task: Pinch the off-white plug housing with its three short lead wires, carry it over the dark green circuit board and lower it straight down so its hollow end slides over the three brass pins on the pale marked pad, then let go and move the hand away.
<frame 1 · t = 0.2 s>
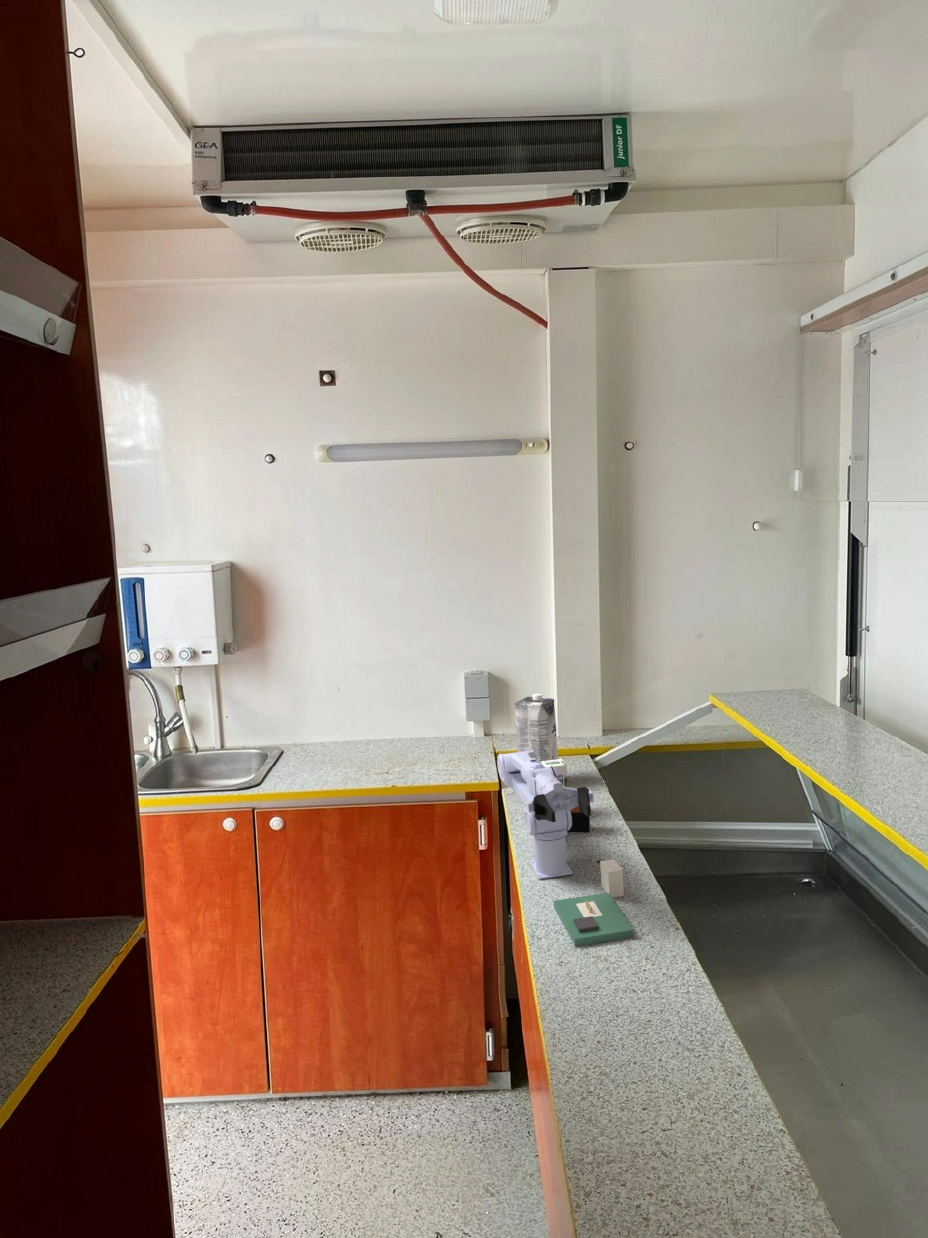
hand: (571, 814, 182), 21 cm above the worktop, tool horizontal, fingers open, 7 cm apart
plug housing: (612, 891, 192), on the worktop
battery: (576, 830, 225), on the worktop
circuit board: (592, 921, 180), on the worktop
juice carton: (539, 785, 259), on the worktop
syrup box: (557, 814, 237), on the worktop
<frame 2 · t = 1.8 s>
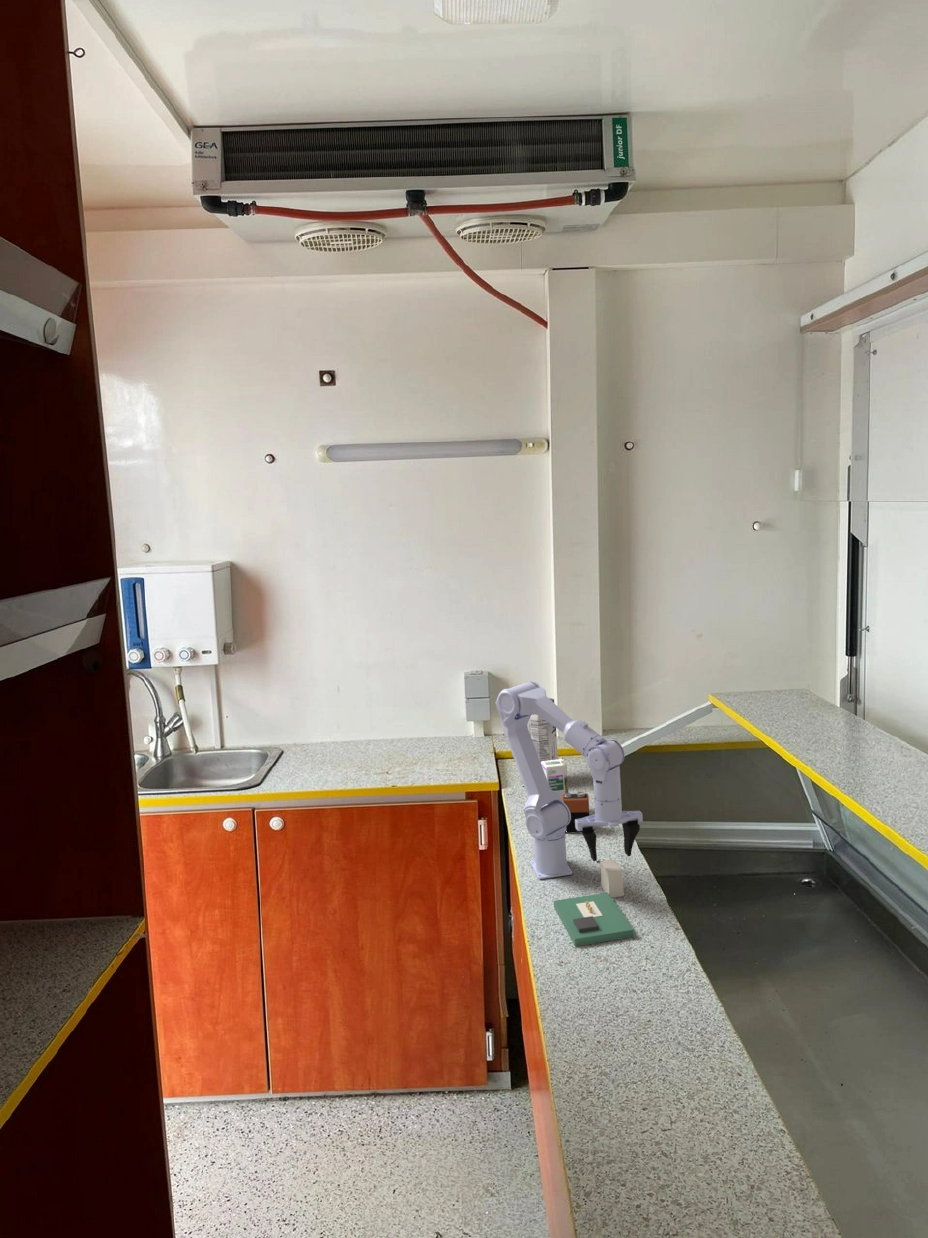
hand: (610, 856, 190), 8 cm above the worktop, tool pointing down, fingers open, 7 cm apart
nothing on the worktop moved.
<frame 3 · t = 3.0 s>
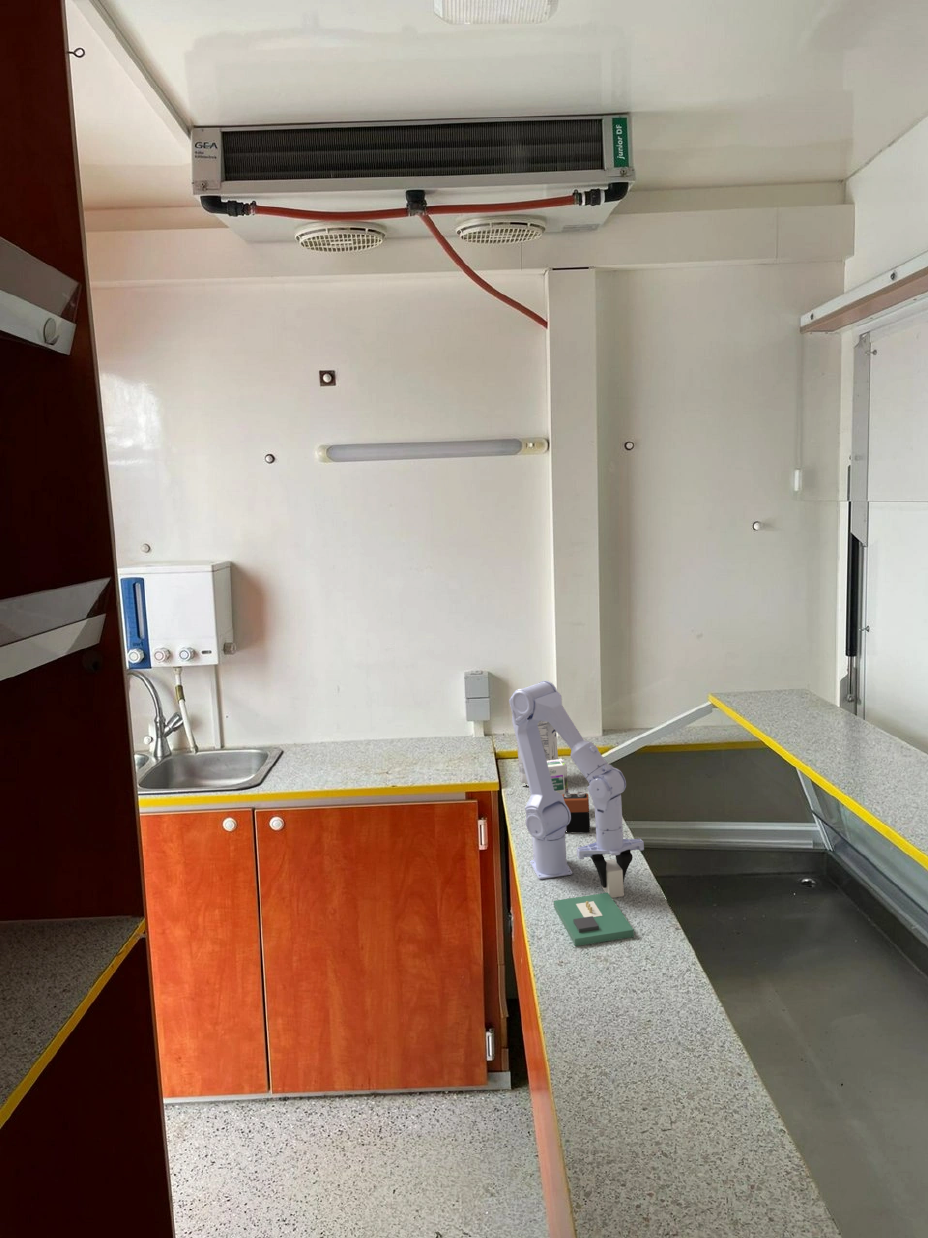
hand: (612, 884, 191), 2 cm above the worktop, tool pointing down, fingers closed on plug housing, 3 cm apart
plug housing: (612, 891, 192), on the worktop, touching gripper
everything else where it was.
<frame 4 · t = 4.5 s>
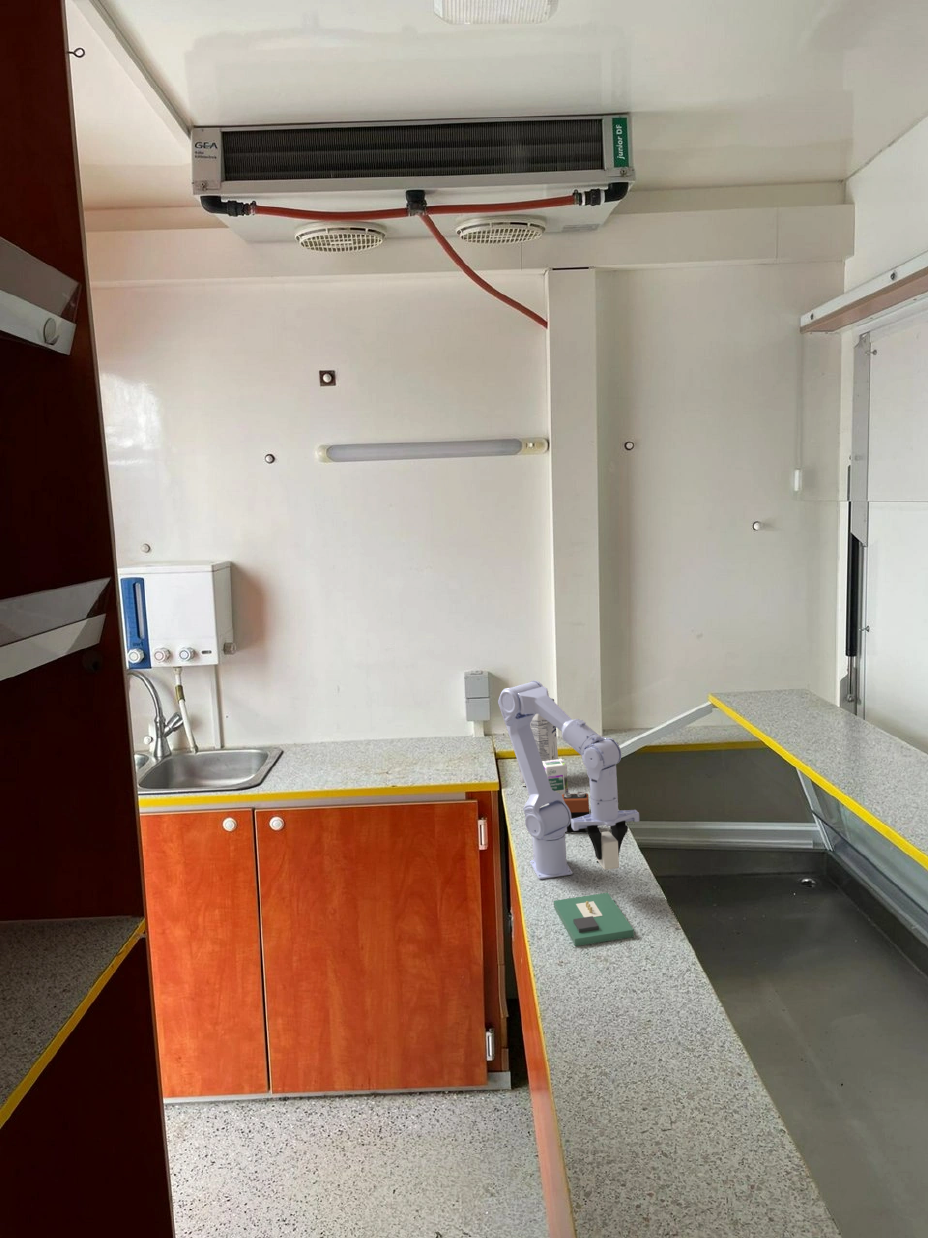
hand: (607, 856, 189), 9 cm above the worktop, tool pointing down, fingers closed on plug housing, 3 cm apart
plug housing: (607, 863, 189), point 7 cm above the worktop, touching gripper
everything else where it was.
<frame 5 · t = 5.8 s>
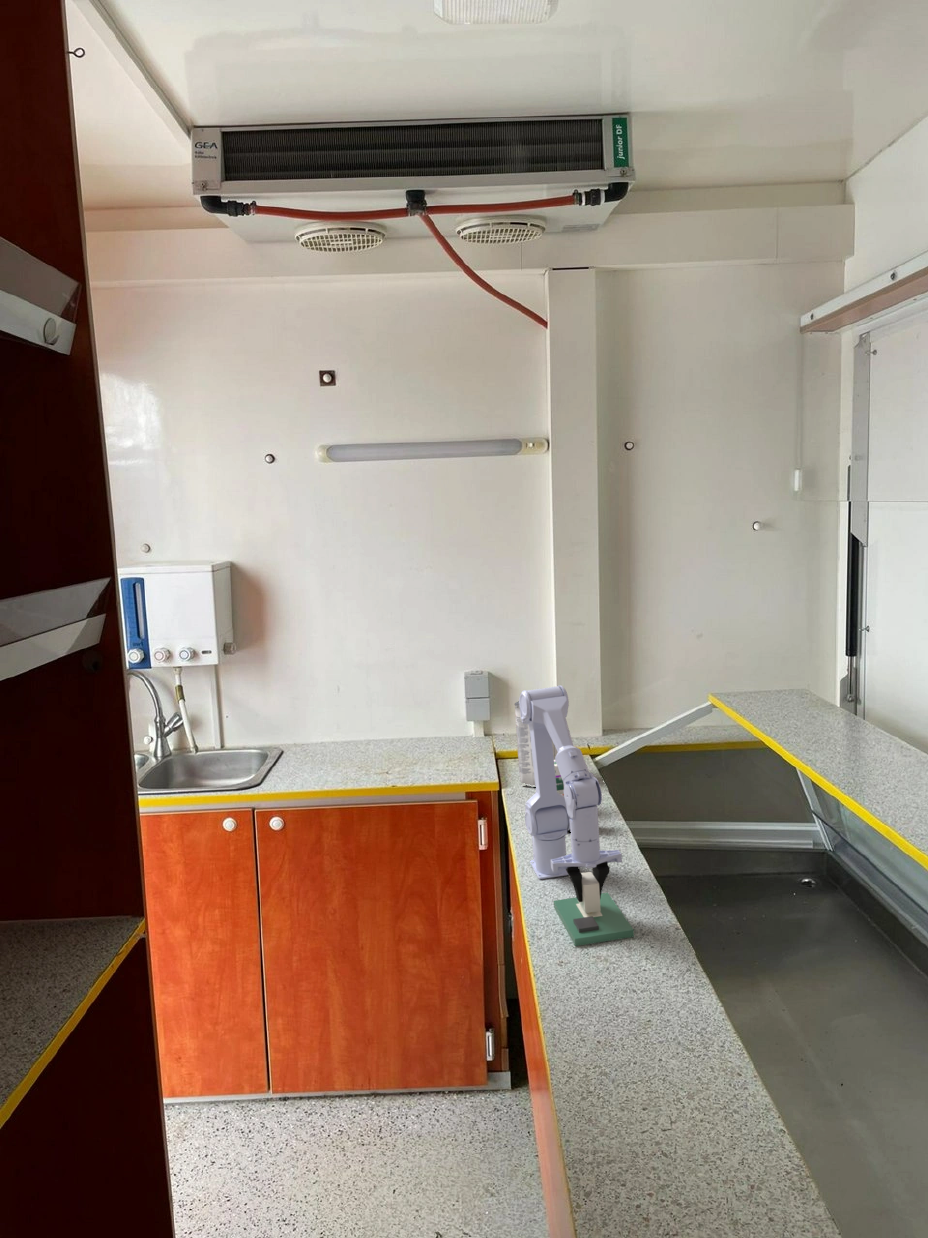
hand: (588, 898, 181), 4 cm above the worktop, tool pointing down, fingers closed on plug housing, 3 cm apart
plug housing: (589, 905, 181), point 2 cm above the worktop, touching gripper
everything else where it was.
when the fingers open (3 cm above the worktop, at t = 6.3 s): plug housing stays where it is, resting on circuit board.
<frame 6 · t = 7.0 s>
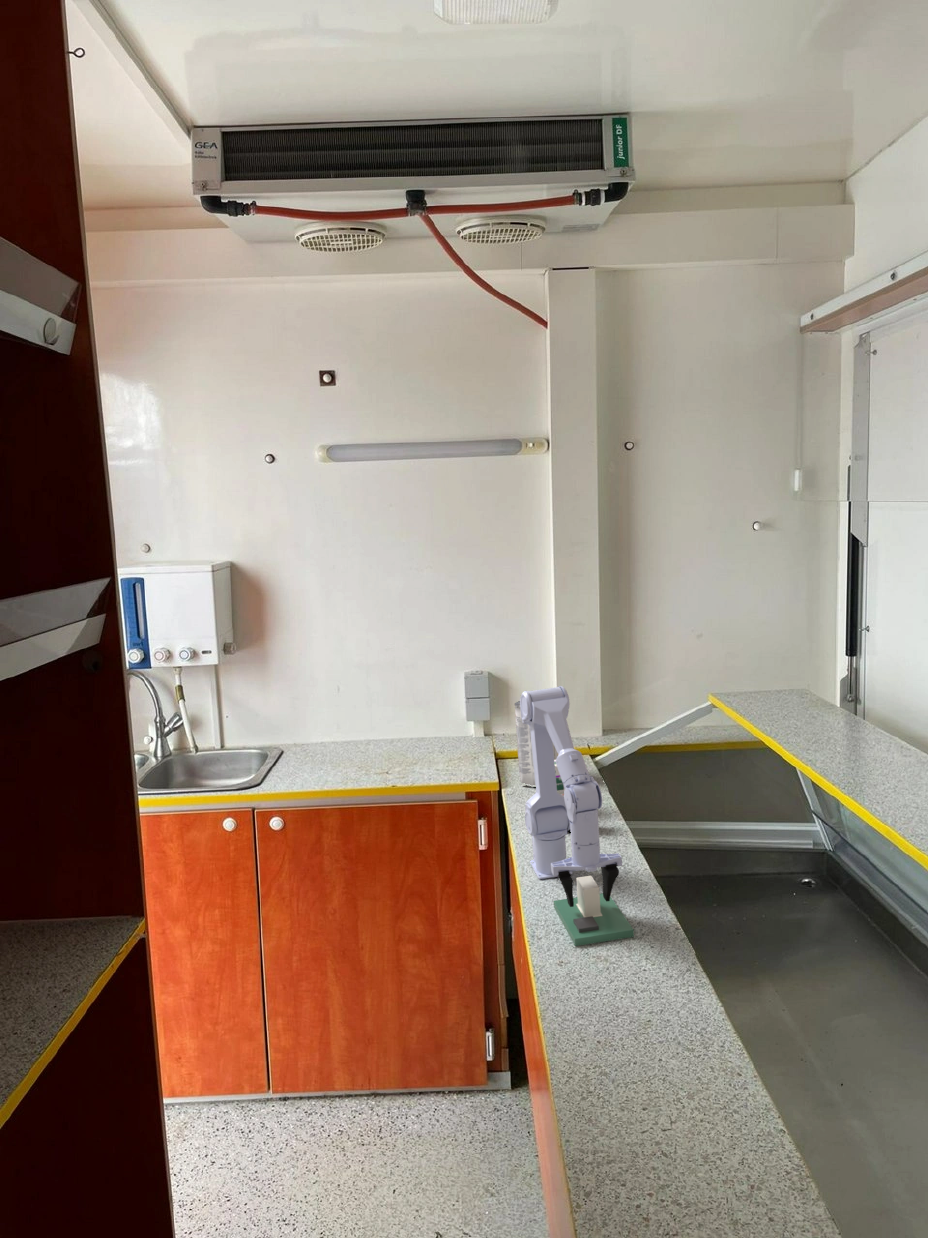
hand: (588, 902, 181), 3 cm above the worktop, tool pointing down, fingers open, 7 cm apart
plug housing: (589, 909, 181), point 2 cm above the worktop, touching circuit board
everything else where it was.
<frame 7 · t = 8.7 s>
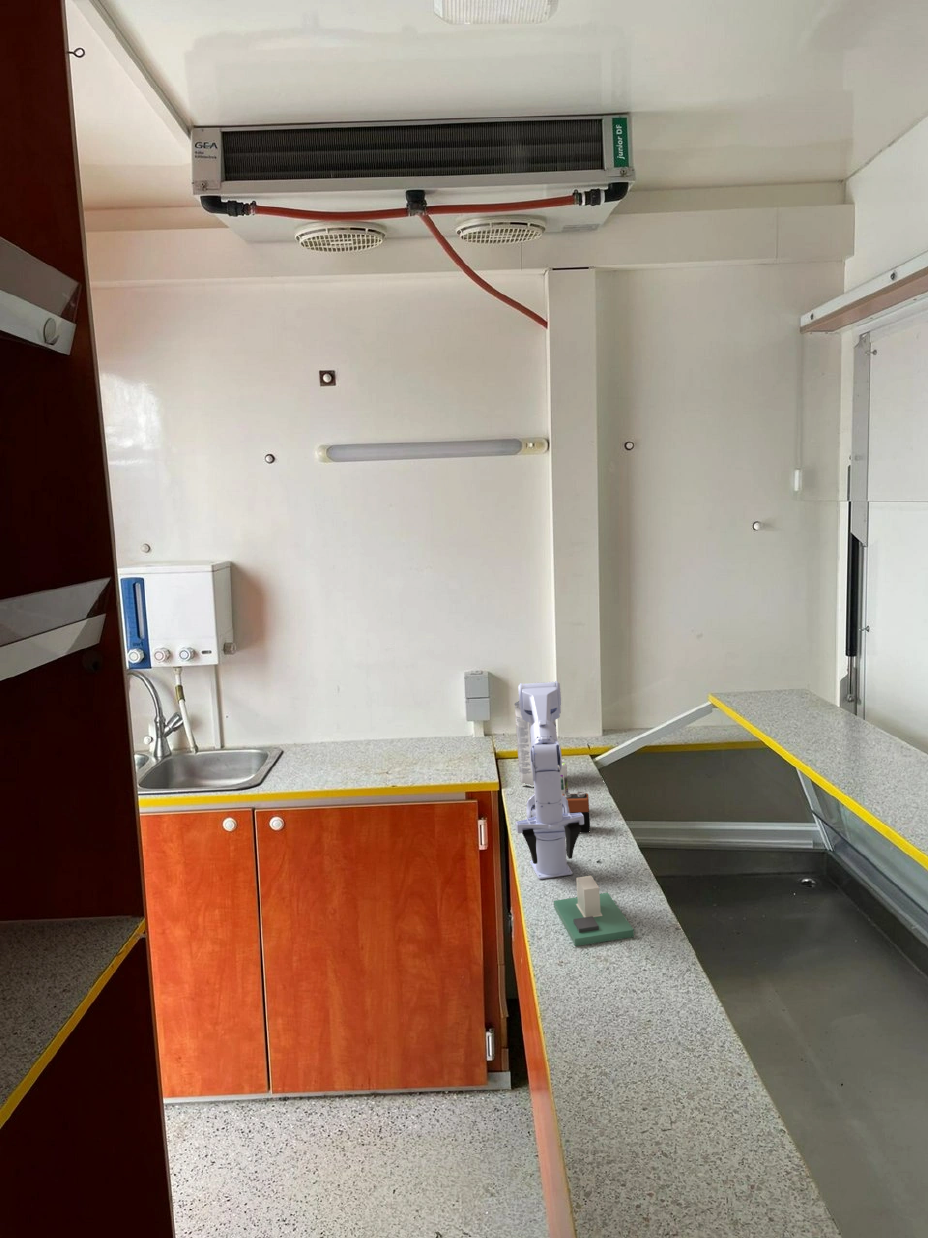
hand: (552, 859, 188), 9 cm above the worktop, tool pointing down, fingers open, 7 cm apart
nothing on the worktop moved.
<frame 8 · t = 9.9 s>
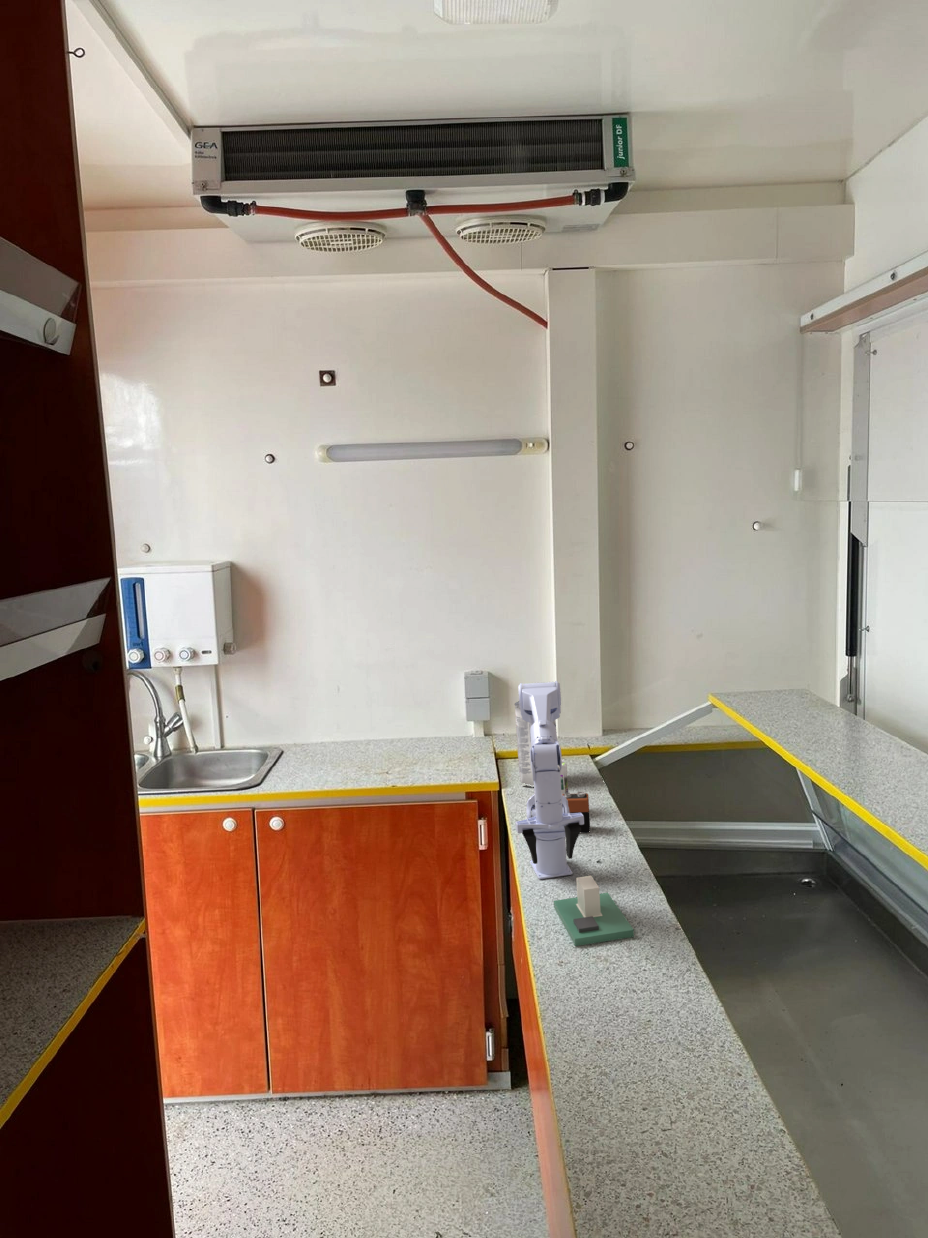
hand: (552, 859, 188), 9 cm above the worktop, tool pointing down, fingers open, 7 cm apart
nothing on the worktop moved.
at the end: plug housing 0.0 cm from the target spot on the circuit board, point 1.6 cm above the circuit board's base; plug housing tilted 0°; the gripper is holding nothing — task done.
